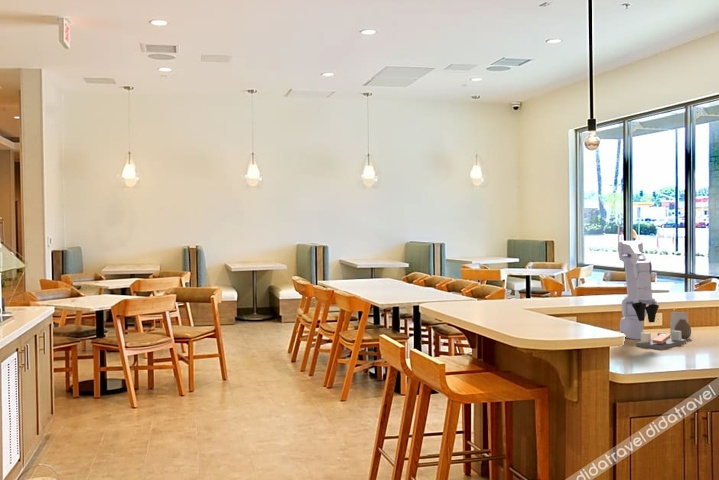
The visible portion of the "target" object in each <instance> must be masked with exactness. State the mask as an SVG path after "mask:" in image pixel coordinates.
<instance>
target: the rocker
mask: <svg viewBox="0 0 719 480" xmlns="http://www.w3.org/2000/svg"><path fill="white" fill-rule="evenodd" d="M670 338H671V334H669V333H668V334H667V333H665V334H660V335H658V334H657V336H655V338H652V339H653V340H652V341H653V343H657V344H663V343H664V342H666V341H667V340H668V339H670Z"/></svg>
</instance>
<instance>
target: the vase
mask: <svg viewBox="0 0 719 480" xmlns="http://www.w3.org/2000/svg"><path fill="white" fill-rule="evenodd" d="M674 330H676V331H681V336H682V339H685V340H689V338H690V337H691V335H692V328H691V325H690V324H689V322H688V323H687V321H686V319H679V321H678V322H677V324H676V325H675V327H674Z"/></svg>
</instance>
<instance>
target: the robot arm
mask: <svg viewBox="0 0 719 480" xmlns="http://www.w3.org/2000/svg"><path fill="white" fill-rule="evenodd" d="M643 244H644V243H643V242H642V241H641V240H619V242H618V246H617V250H618V258H619V261H621V262H623V265H624V273H625V282H626V292H627V293H626V295H627V296H626V297H624V299H623V300H622V301H621V315H622V316H623V317H621V318H620V321H619V333H620V332H621V333H624V334H625V335H626V338H625V339H631V340H641V333H642V332H644V321H645V319H646V316H647V320H648V323H655V320H656V316H657V311H658V309H659V308H660V305H659V304H658V302H657V300H656V298H653V293H652V289H653V288H652V279H651V277H652V276H651V275H652V271H653V267H652V262H651V260H647V258H646V256H645V255H644V253H643V251H644V245H643Z"/></svg>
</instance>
